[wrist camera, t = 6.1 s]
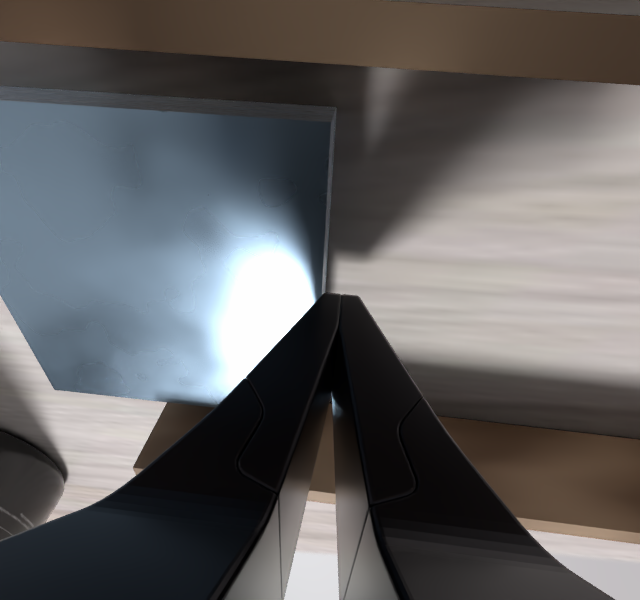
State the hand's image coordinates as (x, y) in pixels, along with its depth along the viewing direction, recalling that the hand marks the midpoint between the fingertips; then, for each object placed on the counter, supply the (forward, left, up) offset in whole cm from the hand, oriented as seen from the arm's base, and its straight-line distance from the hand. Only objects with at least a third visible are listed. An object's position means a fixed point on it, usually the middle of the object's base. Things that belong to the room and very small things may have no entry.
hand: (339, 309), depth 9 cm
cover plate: (+4, 0, -2) cm, 5 cm away
